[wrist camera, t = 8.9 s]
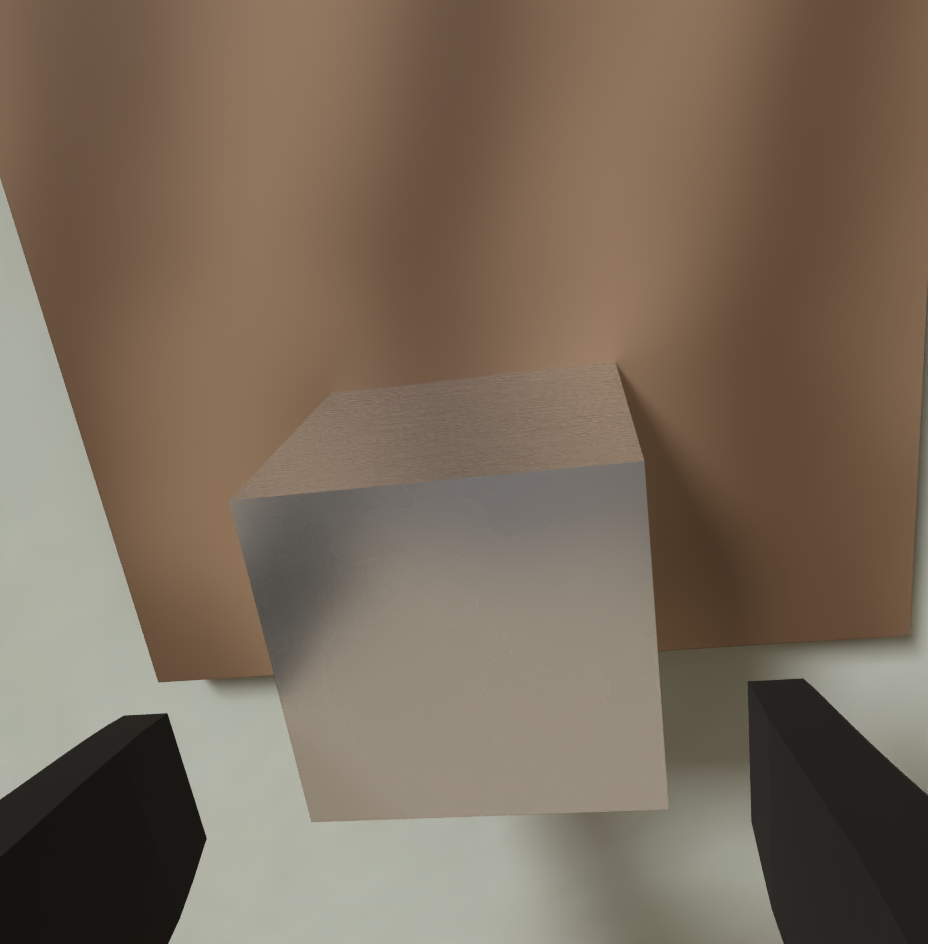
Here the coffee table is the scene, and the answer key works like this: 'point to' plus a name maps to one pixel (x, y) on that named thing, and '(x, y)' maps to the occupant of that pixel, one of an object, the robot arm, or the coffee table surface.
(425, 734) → the brushed aluminum cube
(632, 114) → the walnut board
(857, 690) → the coffee table surface
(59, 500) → the coffee table surface
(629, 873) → the coffee table surface
